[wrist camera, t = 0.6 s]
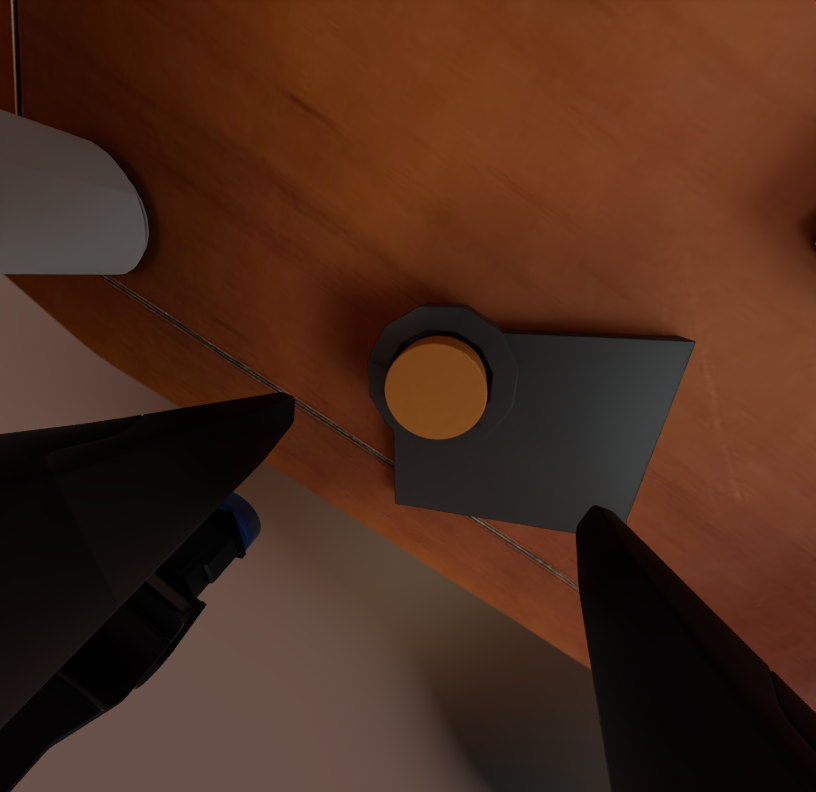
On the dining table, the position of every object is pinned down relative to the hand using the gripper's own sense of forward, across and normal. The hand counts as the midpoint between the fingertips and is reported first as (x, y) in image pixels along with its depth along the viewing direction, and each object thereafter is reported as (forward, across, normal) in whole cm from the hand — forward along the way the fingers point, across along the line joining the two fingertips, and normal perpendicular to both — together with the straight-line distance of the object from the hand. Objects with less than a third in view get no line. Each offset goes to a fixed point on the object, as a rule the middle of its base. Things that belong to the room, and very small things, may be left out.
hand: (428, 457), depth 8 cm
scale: (+10, -4, +4) cm, 12 cm away
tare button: (+8, +1, +1) cm, 8 cm away
